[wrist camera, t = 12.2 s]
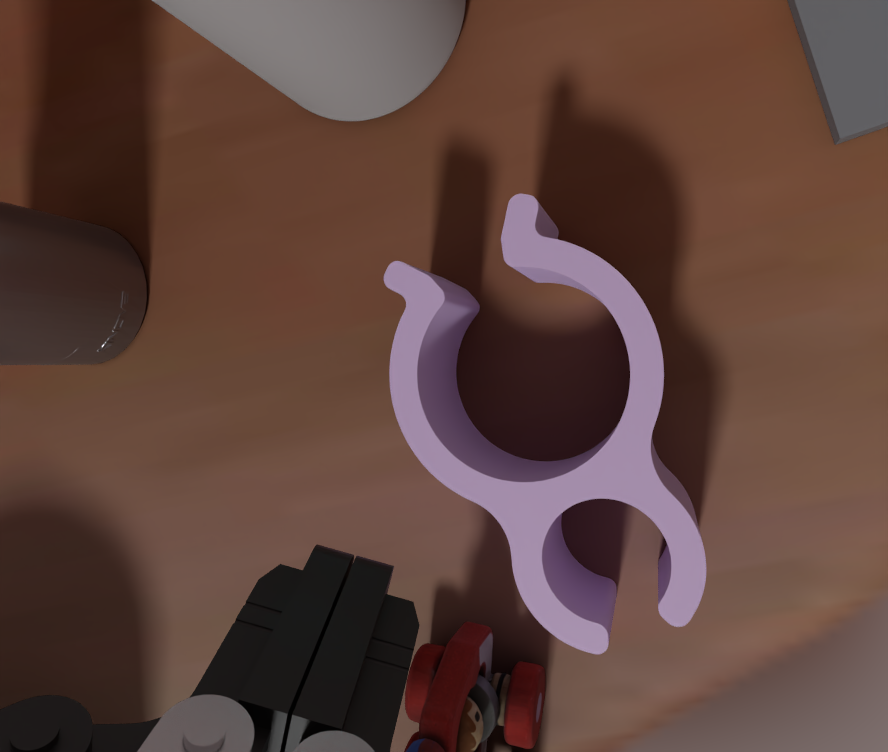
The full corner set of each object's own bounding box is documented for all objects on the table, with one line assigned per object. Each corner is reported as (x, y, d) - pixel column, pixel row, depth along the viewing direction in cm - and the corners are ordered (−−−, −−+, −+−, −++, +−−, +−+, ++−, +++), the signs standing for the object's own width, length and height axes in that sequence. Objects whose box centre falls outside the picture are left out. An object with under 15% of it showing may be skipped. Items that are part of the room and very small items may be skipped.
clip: (761, 547, 35) (785, 591, 29) (537, 627, 39) (512, 683, 32) (590, 196, 37) (576, 161, 31) (391, 301, 41) (340, 291, 34)
